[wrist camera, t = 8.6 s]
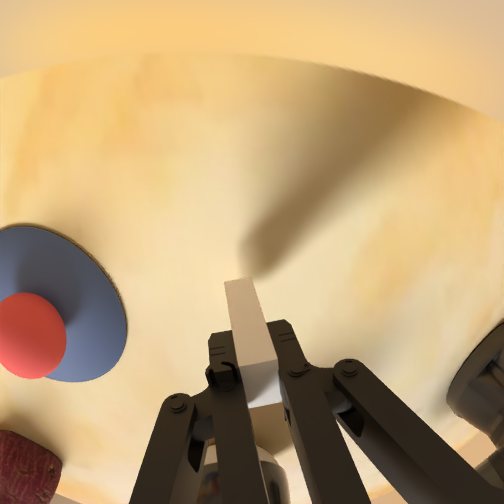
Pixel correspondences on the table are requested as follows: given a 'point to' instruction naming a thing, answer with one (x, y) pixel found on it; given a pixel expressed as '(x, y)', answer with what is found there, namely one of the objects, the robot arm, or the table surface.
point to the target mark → (66, 298)
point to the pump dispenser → (272, 472)
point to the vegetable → (26, 471)
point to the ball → (30, 335)
